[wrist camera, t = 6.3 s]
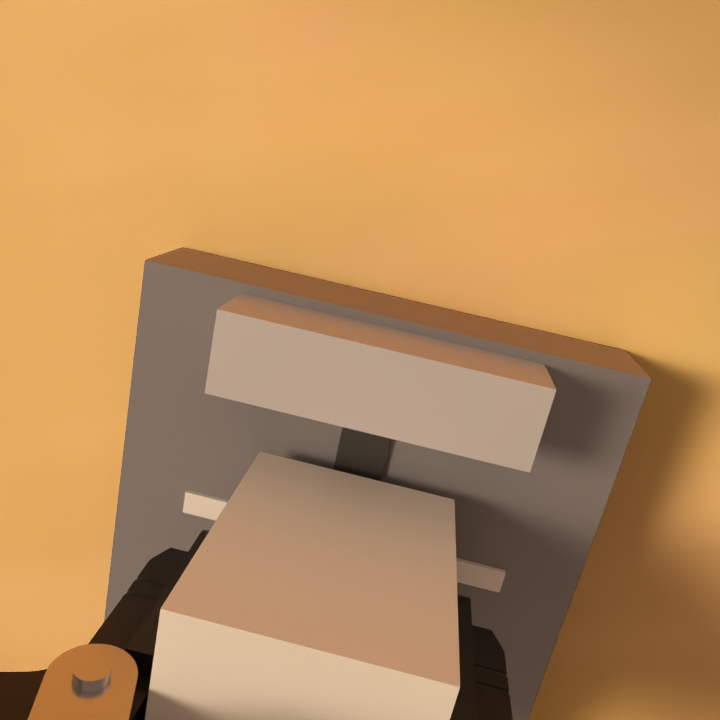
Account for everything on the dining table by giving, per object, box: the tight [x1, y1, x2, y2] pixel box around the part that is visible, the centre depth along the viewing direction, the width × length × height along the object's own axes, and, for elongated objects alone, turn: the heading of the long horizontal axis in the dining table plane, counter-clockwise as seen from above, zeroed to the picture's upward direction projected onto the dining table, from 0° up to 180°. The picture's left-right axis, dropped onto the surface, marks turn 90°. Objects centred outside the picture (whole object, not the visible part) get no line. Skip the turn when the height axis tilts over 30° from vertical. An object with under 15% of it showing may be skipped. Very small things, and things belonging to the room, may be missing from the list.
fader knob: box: [145, 452, 460, 720], centre depth 12 cm, size 5×4×5 cm
